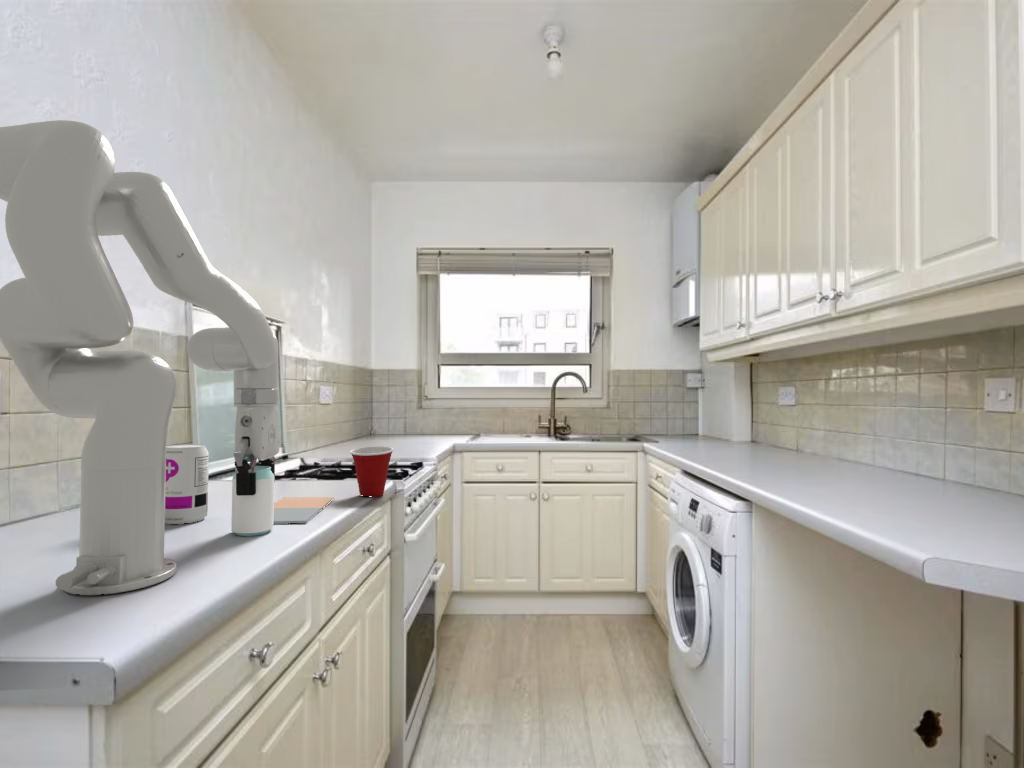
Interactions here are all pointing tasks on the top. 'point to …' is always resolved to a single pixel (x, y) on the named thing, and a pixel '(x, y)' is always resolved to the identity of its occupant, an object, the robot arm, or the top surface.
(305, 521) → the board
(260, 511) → the can
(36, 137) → the robot arm
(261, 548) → the top surface
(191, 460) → the supplement can
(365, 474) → the plastic cup
